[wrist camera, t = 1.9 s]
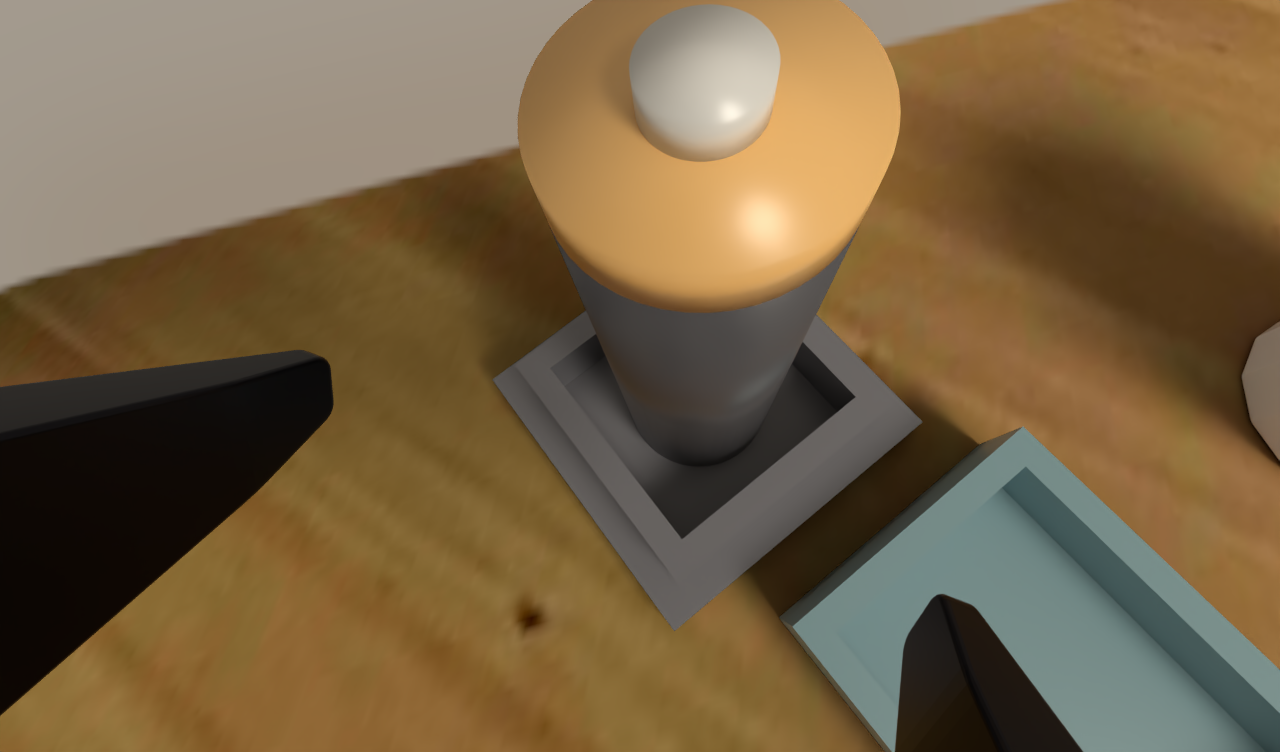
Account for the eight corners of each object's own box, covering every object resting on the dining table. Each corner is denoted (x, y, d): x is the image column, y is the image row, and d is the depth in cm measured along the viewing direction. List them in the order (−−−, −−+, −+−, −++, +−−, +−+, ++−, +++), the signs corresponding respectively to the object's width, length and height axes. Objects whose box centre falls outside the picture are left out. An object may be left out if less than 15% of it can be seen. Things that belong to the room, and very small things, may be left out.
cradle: (675, 627, 18) (671, 640, 15) (501, 387, 21) (470, 360, 18) (911, 428, 19) (949, 405, 16) (715, 228, 22) (718, 179, 19)
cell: (688, 495, 18) (672, 332, 5) (605, 390, 19) (428, 54, 7) (794, 409, 19) (1016, 69, 6) (706, 313, 20) (727, -141, 7)
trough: (1131, 1062, 14) (1224, 1169, 12) (778, 617, 18) (792, 626, 15) (1357, 816, 15) (1487, 867, 13) (979, 444, 19) (1023, 426, 16)
